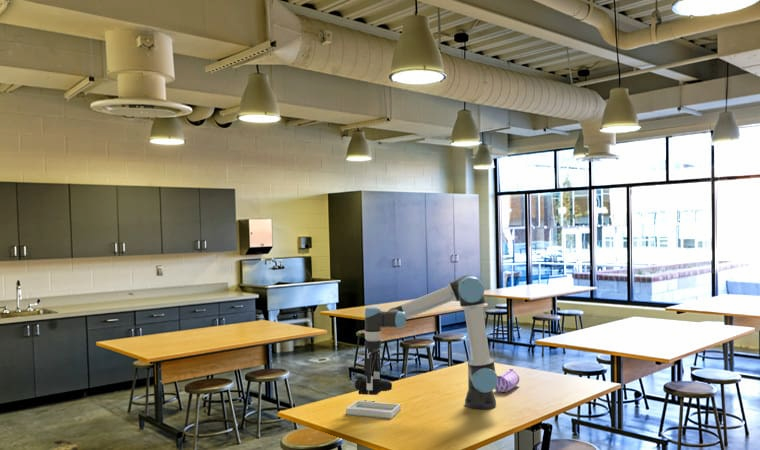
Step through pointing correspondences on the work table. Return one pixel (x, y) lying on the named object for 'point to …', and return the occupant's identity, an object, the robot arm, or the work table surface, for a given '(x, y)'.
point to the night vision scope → (377, 386)
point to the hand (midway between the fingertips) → (373, 387)
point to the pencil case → (507, 381)
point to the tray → (373, 409)
